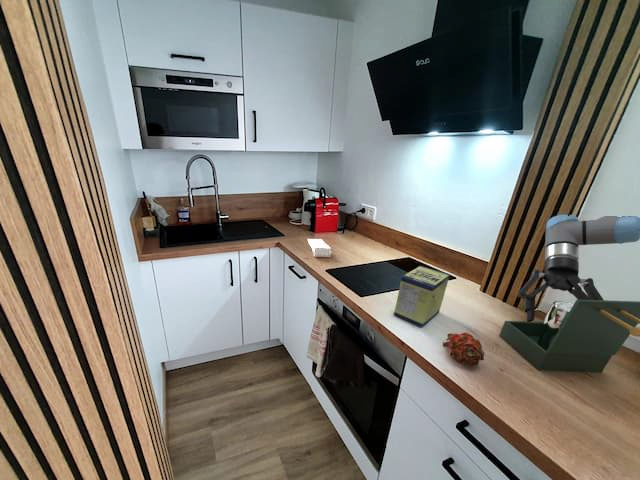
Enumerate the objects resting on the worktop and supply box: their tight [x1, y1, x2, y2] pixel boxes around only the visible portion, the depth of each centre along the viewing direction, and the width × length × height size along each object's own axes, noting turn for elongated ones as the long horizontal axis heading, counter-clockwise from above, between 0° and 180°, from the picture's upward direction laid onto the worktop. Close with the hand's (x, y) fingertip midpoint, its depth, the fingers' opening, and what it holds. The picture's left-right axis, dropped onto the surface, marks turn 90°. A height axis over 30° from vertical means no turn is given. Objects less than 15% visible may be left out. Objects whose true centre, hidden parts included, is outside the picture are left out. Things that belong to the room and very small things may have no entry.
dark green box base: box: [498, 320, 613, 373], centre depth 84 cm, size 16×18×6 cm
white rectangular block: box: [307, 238, 332, 258], centre depth 165 cm, size 10×7×28 cm
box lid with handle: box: [547, 299, 640, 356], centre depth 68 cm, size 16×18×10 cm
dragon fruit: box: [442, 331, 485, 367], centre depth 81 cm, size 8×8×12 cm
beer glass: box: [536, 300, 574, 351], centre depth 82 cm, size 7×7×15 cm
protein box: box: [393, 265, 451, 328], centre depth 100 cm, size 10×16×16 cm
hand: (559, 327), depth 81 cm, fingers open, 13 cm apart
